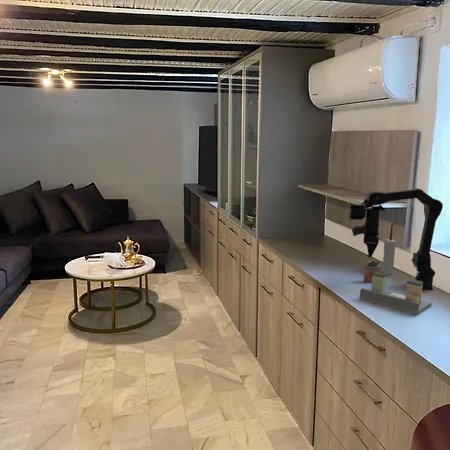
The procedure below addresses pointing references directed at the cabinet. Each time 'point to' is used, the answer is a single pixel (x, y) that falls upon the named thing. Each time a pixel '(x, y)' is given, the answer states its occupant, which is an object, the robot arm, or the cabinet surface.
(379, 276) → the sage block
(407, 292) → the beech block
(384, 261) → the grey upright bar
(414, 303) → the switch board
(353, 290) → the cabinet surface
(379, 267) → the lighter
